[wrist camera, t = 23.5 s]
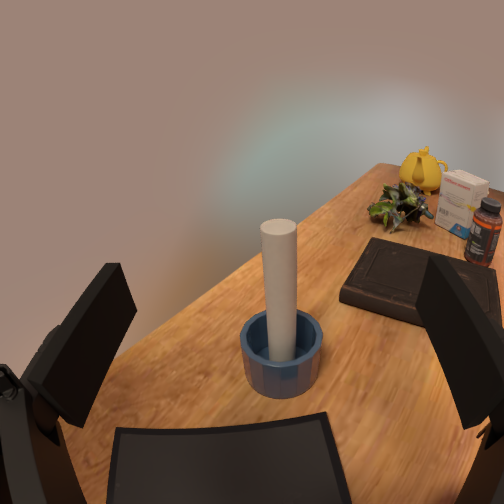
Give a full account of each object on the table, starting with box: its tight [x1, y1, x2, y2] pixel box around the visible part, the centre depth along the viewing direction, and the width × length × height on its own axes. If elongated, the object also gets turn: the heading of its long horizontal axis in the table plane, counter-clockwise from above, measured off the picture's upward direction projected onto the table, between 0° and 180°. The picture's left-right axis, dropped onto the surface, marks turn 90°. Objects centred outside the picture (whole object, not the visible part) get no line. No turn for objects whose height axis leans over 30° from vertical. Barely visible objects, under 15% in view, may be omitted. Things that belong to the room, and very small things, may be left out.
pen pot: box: [240, 309, 323, 399], centre depth 28 cm, size 8×8×6 cm
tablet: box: [106, 412, 352, 504], centre depth 17 cm, size 20×14×1 cm
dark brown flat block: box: [339, 237, 502, 327], centre depth 37 cm, size 16×23×2 cm
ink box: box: [435, 170, 490, 240], centre depth 50 cm, size 9×8×12 cm
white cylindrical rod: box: [260, 219, 297, 362], centre depth 25 cm, size 3×3×16 cm
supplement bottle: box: [464, 197, 502, 267], centre depth 39 cm, size 6×6×11 cm
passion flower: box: [367, 182, 434, 234], centre depth 53 cm, size 11×11×12 cm
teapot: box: [399, 146, 448, 195], centre depth 70 cm, size 20×15×12 cm
